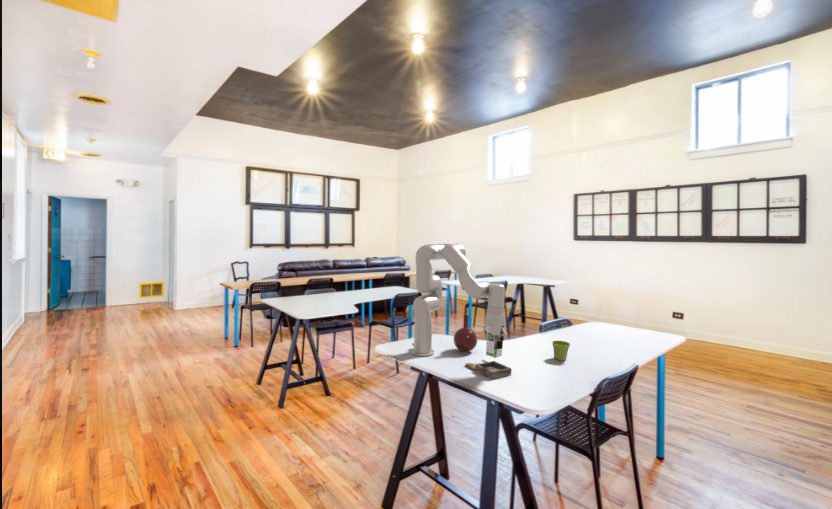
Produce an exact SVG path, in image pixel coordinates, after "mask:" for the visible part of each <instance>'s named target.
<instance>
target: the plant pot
mask: <svg viewBox="0 0 832 509" xmlns="http://www.w3.org/2000/svg"><path fill="white" fill-rule="evenodd" d="M551 343H552V348H553V358H554V360H557V361H565V360H567V356H568V353H569V352H568V351H569V348H570V346H571V343H570V342H568V341H565V340H552V341H551Z"/></svg>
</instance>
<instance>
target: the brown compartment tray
mask: <svg viewBox="0 0 832 509" xmlns="http://www.w3.org/2000/svg"><path fill="white" fill-rule="evenodd" d="M464 364H465V365H464V367H466V368H468V369H470V370H472V371H474V372H476V373H479V374H480V375H483V376H484V377H486V378H488V377H489V379H491V380H495V379H499V378H503V377H504V376H505V377H509V376H511V375H512V368H511V367H509V366H506V365H505V364H502V363H500V362H499V361H498V362H497V361H495V360H492V361H486V360H484V359H482V360H476V361H472V362H467V363H464ZM508 375H509V376H508Z"/></svg>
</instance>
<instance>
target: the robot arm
mask: <svg viewBox="0 0 832 509" xmlns="http://www.w3.org/2000/svg"><path fill="white" fill-rule="evenodd" d="M466 254H467V252H466V248H465V247H464V245H462V244H461V243H460V244H459V243H430V244H429V243H428V244H424V245H422V246H420V247H419V248H418V249H417V250H416V251H415V257H414V258H415V267H416V269H415V286H416V287H415V288H416V290H417V292H418V293H420V294H422V295H420V296H418V297H416V298H415V299H414V301H413V303H412V306H413V313H414V335H413V337H414V339H413V343H411V345H412V346H413V348H412V349H411V350H410V354H412V356H417V357H429V356H433V355H434V354H435V351H434V349H433V348H432V343H433V341H432V340H433V319H432V318H433V317H432V315H431V313H432V312H435V311H438V310H439V309H440V308H441V307H442V303H443V282H442V280H441V277H440V276H439V275H438V274H433V267H432V263H431V261H438V260H439V261H440V260H445V262H447V263H448V265H449V266H450V267H451V268H452V270H453V271H454V272H455V273H456V275H457V279H458V281H459V284H460V286H461V288H462V289H463V290H464V292H465V293H466V294H467V295H469V297H471V298H472V299H481V298H482V299H483V298H486V297H487V298H488V299H487V303H488V304H487V311H486V313H485V319H484V325H483V327H482V328H483V331H484V333H485V337H486V338H487V326H490V327H491V328H490V332H491V333H492V334H494V335H497V338H498V341H497V349H502V350H503V344H504V340H505V339H506V338H507V336H508V333H507V331H506V318H505V316H506V315H505V294H506V293H505V292H506V287H505V285H504V284H502V283H494V282H491V281H488V280H484V281H476V280H475V279H474V278H473V276H472V275H471V274H470V271H469V270H470V269H471V267H472V264H471V261H469V259H467V257H466ZM499 335H500V336H501V337H500V336H499ZM486 344H487V341H486Z"/></svg>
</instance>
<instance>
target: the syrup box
mask: <svg viewBox="0 0 832 509" xmlns="http://www.w3.org/2000/svg"><path fill="white" fill-rule="evenodd" d="M490 328H491V327H490V326H487V337H486V342H487V344H486V347H485V348H486V349H485V356H488V357H490V358H491V357H492V358H495V359H497V358H500V357H502V356H503V348H502V349H497V341H498V338H497V335H494V334H492V333H491V332H490ZM499 336H500V335H499ZM500 337H501V336H500Z"/></svg>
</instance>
